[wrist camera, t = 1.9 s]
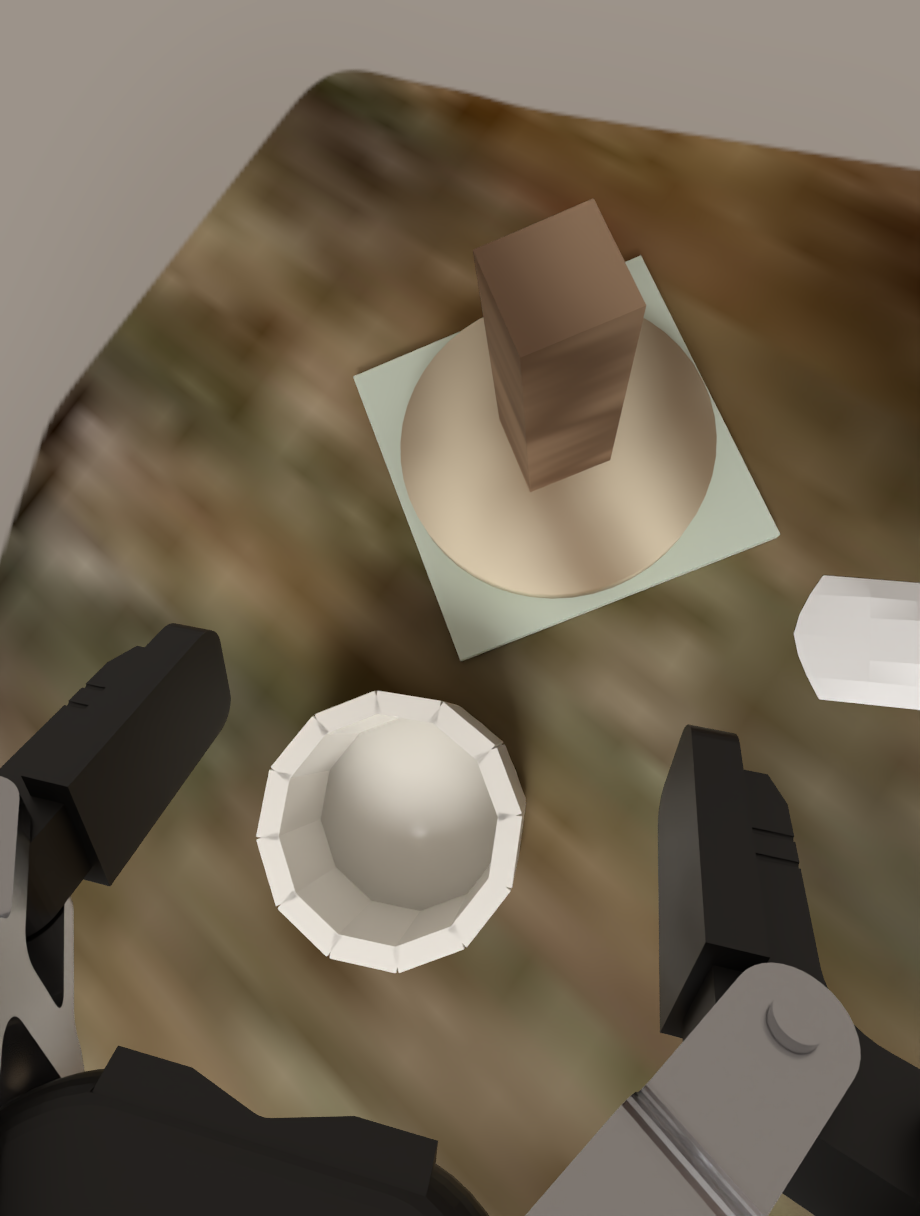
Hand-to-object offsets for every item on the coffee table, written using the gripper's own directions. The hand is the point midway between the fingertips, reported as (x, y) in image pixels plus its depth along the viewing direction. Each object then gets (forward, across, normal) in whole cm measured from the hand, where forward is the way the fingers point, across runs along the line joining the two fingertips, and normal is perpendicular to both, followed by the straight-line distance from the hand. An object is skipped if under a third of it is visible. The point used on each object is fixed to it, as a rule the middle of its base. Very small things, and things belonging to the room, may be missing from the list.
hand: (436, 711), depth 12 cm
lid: (+20, 0, +3) cm, 20 cm away
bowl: (+9, +3, +15) cm, 18 cm away
